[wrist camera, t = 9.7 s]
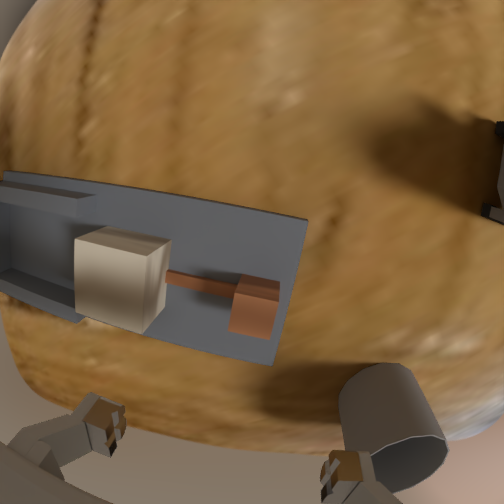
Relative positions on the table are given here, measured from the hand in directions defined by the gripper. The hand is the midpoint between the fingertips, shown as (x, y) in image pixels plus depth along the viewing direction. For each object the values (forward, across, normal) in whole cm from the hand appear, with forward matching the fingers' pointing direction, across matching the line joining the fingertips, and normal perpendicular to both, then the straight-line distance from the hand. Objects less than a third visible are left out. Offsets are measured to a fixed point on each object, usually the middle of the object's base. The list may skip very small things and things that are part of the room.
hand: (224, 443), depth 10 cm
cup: (+17, -14, +9) cm, 24 cm away
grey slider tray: (+16, +13, 0) cm, 21 cm away
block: (+15, +6, 0) cm, 17 cm away
